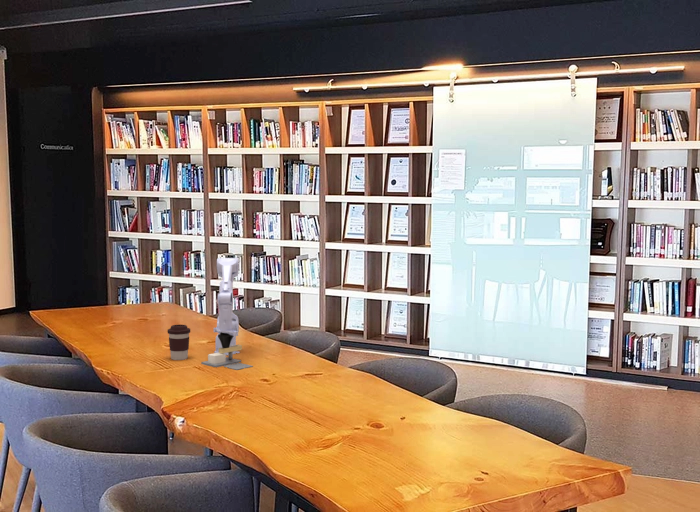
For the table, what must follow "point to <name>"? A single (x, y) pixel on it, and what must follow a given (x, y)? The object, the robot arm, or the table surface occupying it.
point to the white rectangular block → (216, 358)
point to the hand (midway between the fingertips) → (225, 350)
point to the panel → (228, 361)
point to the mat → (238, 366)
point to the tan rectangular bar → (230, 349)
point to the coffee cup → (179, 341)
